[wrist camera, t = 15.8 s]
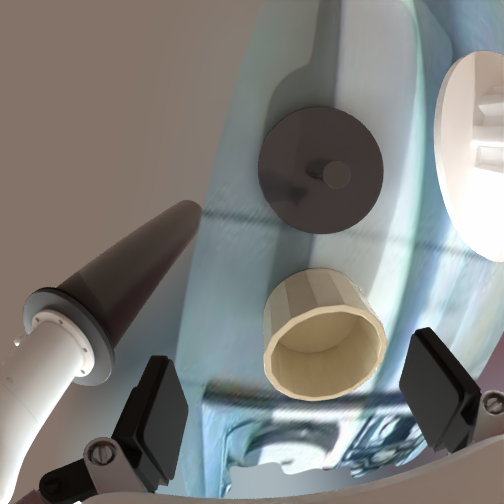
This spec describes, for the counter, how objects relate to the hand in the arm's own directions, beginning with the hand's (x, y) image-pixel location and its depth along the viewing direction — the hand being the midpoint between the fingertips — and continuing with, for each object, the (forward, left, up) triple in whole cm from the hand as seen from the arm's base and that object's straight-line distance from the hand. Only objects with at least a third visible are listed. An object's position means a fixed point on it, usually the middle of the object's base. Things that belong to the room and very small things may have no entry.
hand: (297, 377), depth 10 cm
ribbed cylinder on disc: (+28, +9, -22) cm, 37 cm away
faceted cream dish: (+4, -11, -22) cm, 25 cm away
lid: (+5, +6, -21) cm, 23 cm away
